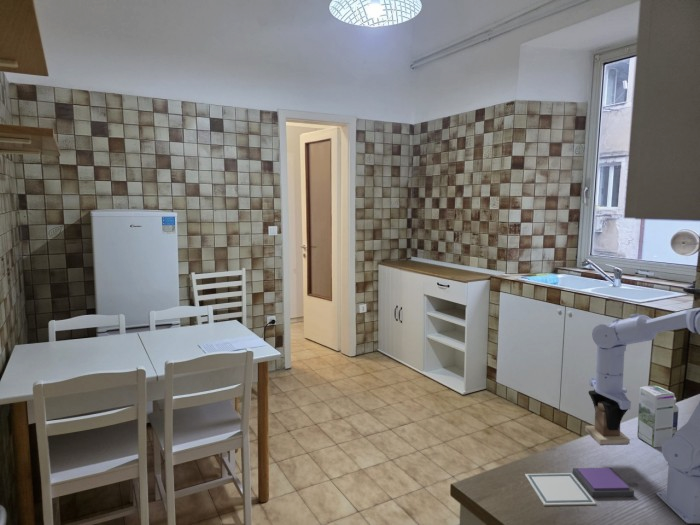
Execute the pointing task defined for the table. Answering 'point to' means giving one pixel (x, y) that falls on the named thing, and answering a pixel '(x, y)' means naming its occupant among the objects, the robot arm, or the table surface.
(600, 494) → the ink pad
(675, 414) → the pill bottle
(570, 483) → the form card
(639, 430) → the syrup box
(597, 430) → the stamp
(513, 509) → the table surface
